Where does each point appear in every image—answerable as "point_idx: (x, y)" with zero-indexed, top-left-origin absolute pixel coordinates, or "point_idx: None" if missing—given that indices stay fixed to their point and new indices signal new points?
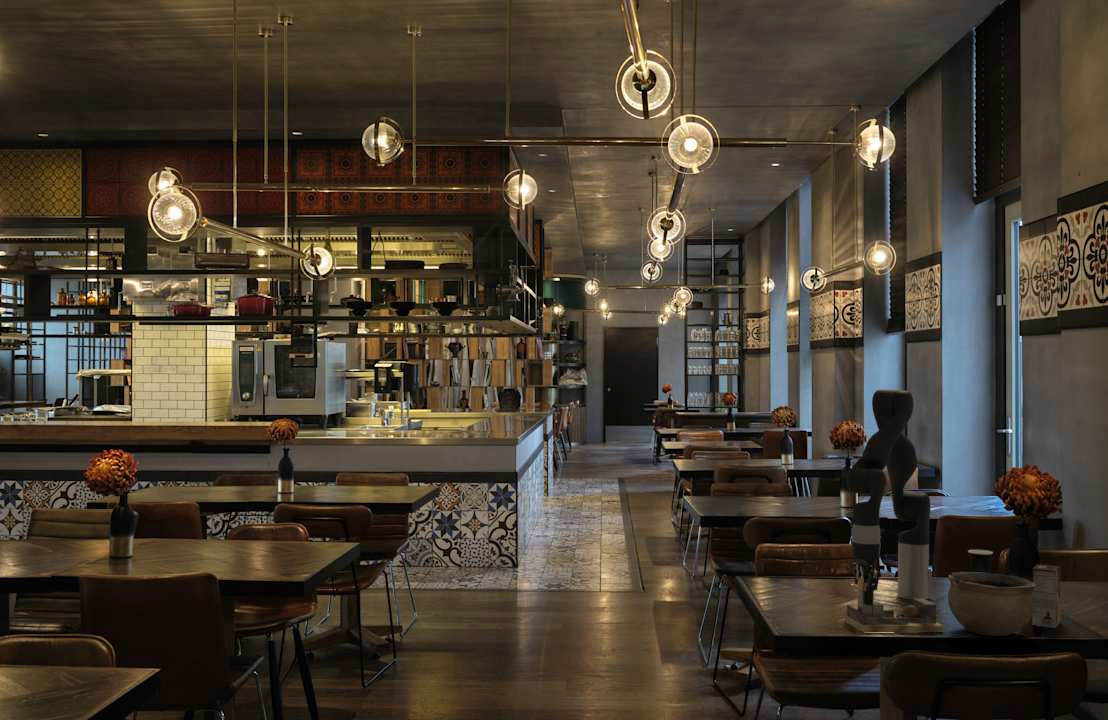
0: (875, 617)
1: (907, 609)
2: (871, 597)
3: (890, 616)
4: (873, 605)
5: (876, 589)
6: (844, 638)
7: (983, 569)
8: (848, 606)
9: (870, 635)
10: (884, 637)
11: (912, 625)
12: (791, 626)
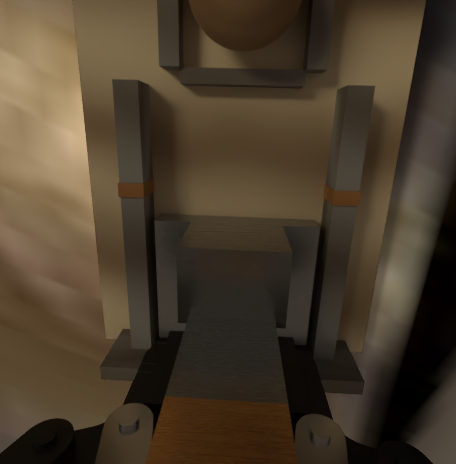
0: (310, 288)
1: (275, 22)
2: (320, 393)
3: (149, 109)
4: (283, 321)
5: (422, 457)
6: (406, 432)
7: None
8: (132, 377)
9: (383, 320)
10: (434, 277)
11: (406, 80)
12: None
